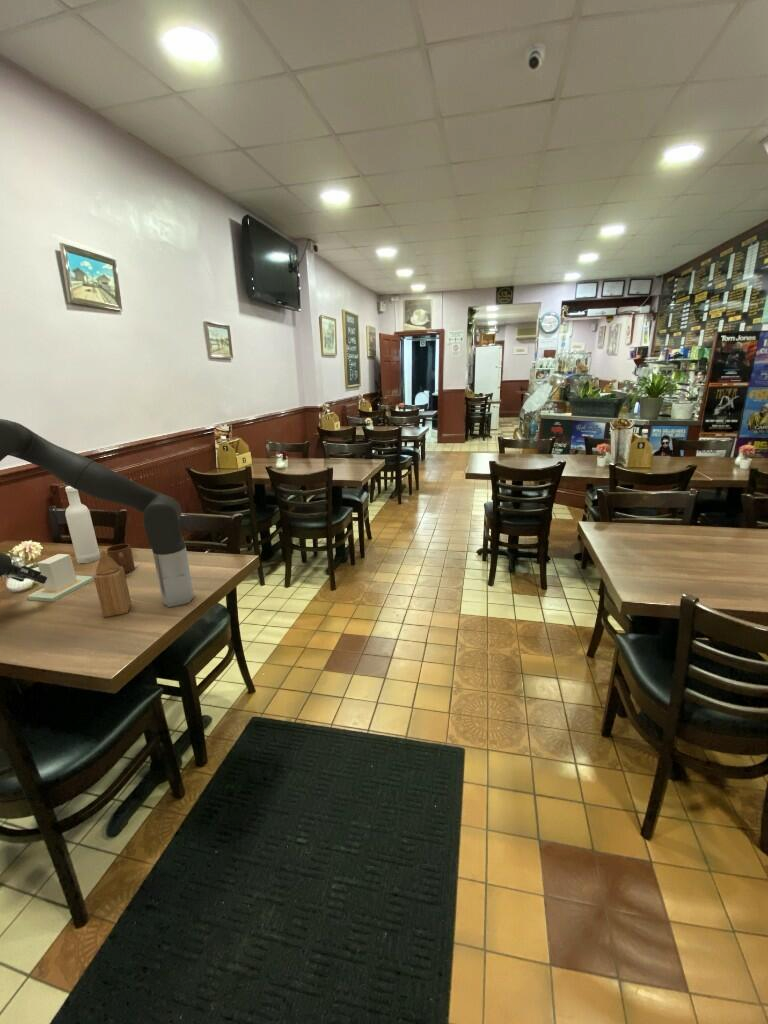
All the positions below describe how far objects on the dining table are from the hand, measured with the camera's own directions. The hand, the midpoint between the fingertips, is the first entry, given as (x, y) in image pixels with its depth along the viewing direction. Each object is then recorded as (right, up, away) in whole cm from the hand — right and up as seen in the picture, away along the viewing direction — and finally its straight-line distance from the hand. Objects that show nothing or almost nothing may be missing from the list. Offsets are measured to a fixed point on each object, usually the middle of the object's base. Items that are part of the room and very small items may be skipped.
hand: (34, 579), depth 138 cm
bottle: (-5, +2, +34) cm, 34 cm away
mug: (+16, -1, +21) cm, 26 cm away
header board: (+2, -5, +9) cm, 11 cm away
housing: (+2, -4, +9) cm, 10 cm away
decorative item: (+30, -9, -6) cm, 32 cm away
